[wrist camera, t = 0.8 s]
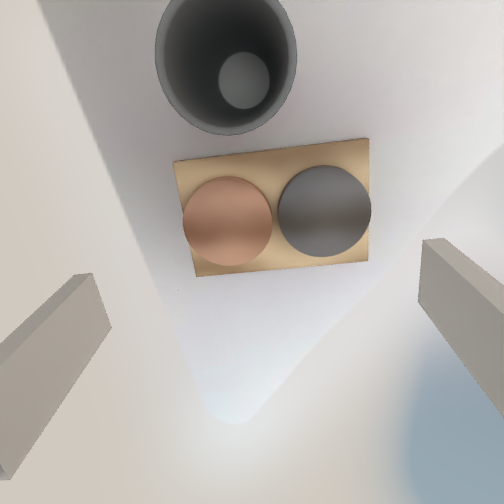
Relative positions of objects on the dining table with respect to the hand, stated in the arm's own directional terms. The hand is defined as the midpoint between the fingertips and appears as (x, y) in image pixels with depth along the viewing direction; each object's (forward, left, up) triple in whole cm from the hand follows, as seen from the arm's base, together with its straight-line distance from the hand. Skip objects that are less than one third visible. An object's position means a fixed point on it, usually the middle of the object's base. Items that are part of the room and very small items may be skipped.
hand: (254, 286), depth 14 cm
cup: (-9, -1, -22) cm, 23 cm away
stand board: (+3, +1, -21) cm, 22 cm away
